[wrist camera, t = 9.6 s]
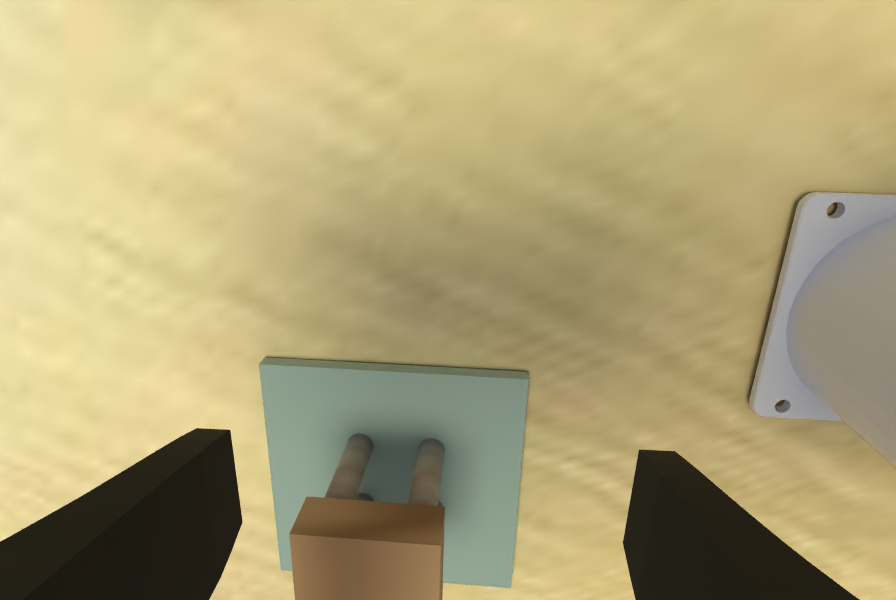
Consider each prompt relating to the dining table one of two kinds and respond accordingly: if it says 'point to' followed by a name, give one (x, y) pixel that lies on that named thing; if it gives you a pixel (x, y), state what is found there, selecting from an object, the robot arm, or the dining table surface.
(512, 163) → the dining table surface
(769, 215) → the dining table surface
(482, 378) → the board
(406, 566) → the brown block with pegs
